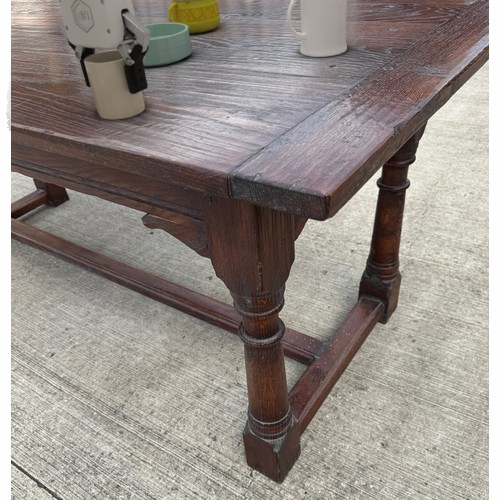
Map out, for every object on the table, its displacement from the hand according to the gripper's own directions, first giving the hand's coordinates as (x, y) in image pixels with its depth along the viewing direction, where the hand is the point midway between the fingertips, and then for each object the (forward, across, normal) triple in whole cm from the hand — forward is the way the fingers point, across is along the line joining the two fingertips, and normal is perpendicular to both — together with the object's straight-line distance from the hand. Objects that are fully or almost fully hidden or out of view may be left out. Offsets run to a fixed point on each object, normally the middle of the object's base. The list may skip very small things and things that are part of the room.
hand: (116, 87), depth 75 cm
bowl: (+4, -14, +24) cm, 28 cm away
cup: (+4, 0, 0) cm, 4 cm away
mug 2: (+4, +14, +36) cm, 39 cm away
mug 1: (+4, -21, +44) cm, 49 cm away
